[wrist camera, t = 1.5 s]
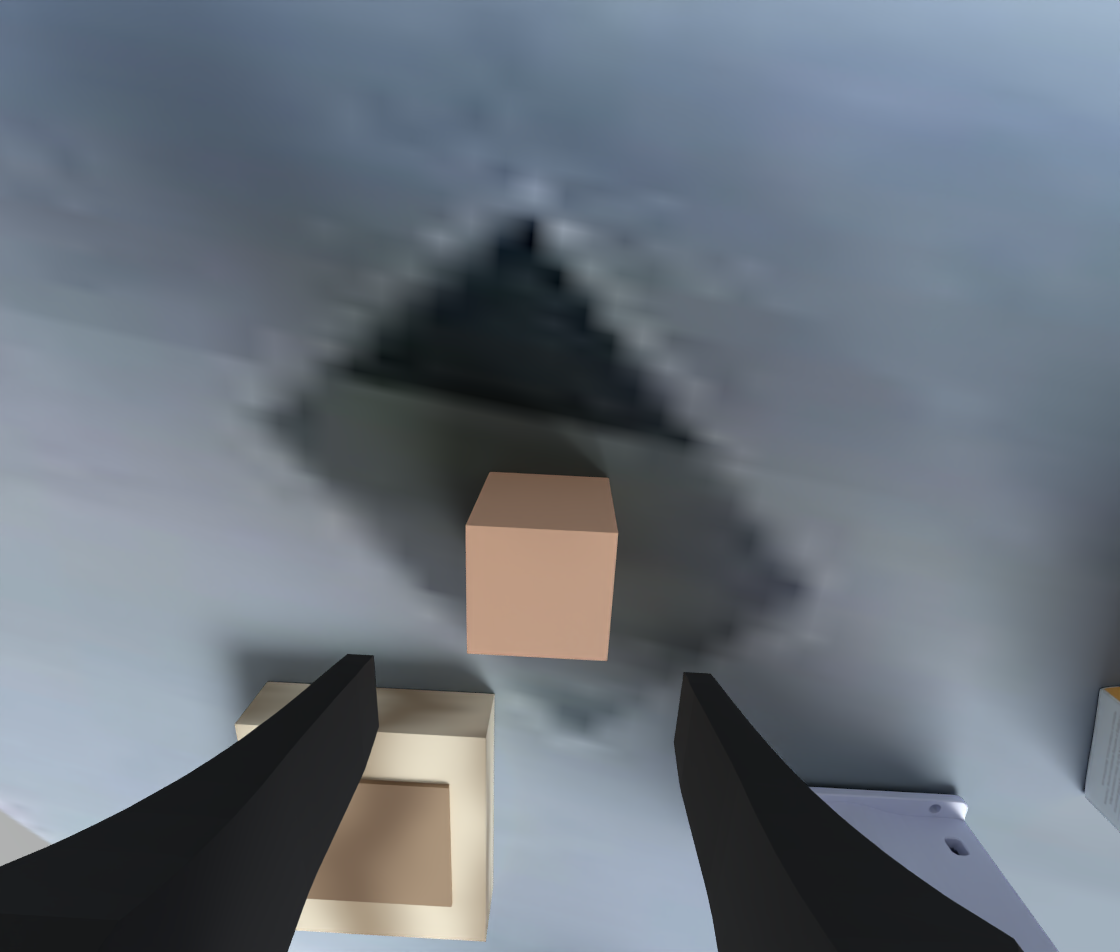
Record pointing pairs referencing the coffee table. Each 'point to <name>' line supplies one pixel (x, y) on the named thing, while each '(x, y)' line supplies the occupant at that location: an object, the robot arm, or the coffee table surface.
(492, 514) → the terracotta cube
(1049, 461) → the coffee table surface
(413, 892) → the birch base
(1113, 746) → the small box
